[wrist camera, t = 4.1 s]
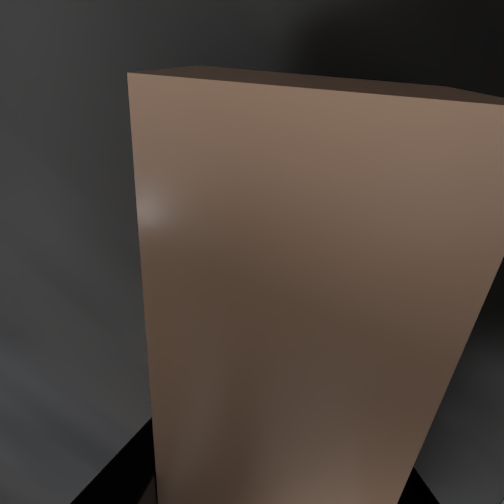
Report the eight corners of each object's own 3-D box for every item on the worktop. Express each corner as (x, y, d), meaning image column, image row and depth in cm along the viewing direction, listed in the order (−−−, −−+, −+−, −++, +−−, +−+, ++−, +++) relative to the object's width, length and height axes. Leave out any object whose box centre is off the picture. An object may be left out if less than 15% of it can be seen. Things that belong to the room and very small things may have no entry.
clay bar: (195, 529, 13) (168, 654, 10) (198, 65, 6) (127, 72, 4) (315, 549, 12) (320, 681, 10) (447, 86, 6) (567, 110, 3)
